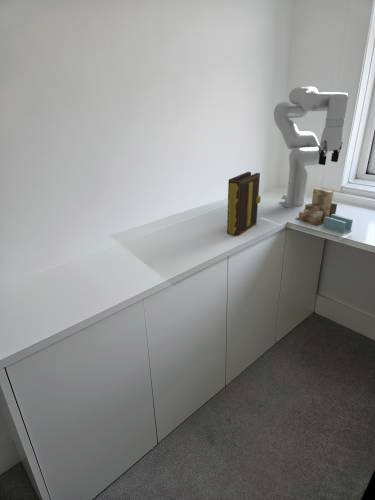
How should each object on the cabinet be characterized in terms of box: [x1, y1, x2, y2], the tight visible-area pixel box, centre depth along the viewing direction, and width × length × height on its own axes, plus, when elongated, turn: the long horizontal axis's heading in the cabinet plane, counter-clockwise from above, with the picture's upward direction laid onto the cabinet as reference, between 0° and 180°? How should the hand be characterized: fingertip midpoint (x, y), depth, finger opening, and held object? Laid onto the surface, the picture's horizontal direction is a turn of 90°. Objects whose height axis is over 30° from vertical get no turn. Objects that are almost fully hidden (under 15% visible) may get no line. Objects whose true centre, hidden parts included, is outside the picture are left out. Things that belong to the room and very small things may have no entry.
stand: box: [322, 213, 354, 234], centre depth 149 cm, size 10×9×6 cm
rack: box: [294, 202, 338, 227], centre depth 160 cm, size 13×14×9 cm
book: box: [226, 171, 262, 237], centre depth 151 cm, size 22×8×25 cm, turn 143°
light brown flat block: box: [311, 187, 334, 216], centre depth 160 cm, size 9×2×14 cm, turn 35°
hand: (328, 163), depth 151 cm, fingers open, 9 cm apart
